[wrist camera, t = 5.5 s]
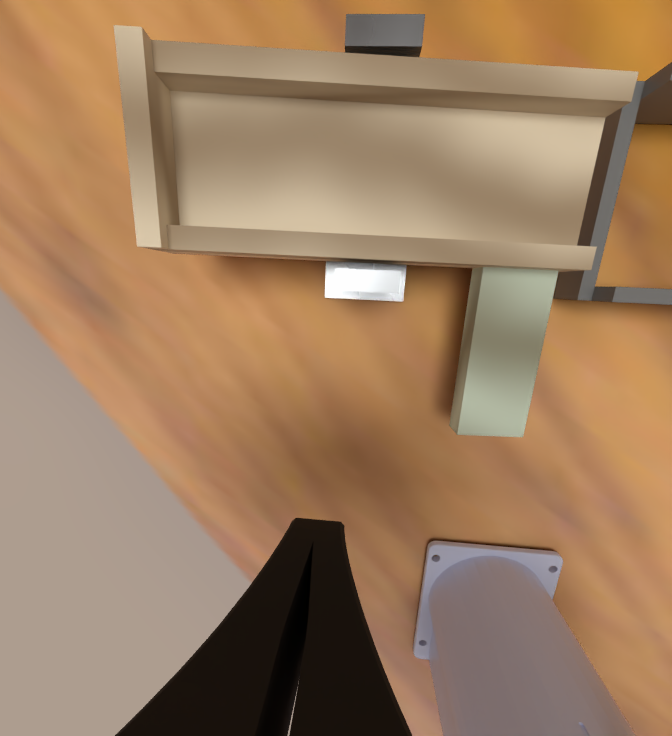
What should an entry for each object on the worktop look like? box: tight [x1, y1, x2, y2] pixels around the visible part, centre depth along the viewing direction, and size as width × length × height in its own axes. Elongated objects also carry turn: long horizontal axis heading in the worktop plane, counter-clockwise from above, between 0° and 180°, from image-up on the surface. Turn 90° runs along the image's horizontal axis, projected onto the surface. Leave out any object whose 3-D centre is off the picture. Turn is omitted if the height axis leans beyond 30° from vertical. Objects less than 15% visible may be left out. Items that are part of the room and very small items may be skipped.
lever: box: [114, 25, 638, 437], centre depth 12 cm, size 13×16×2 cm
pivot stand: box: [325, 14, 425, 301], centre depth 13 cm, size 9×4×5 cm, turn 177°
